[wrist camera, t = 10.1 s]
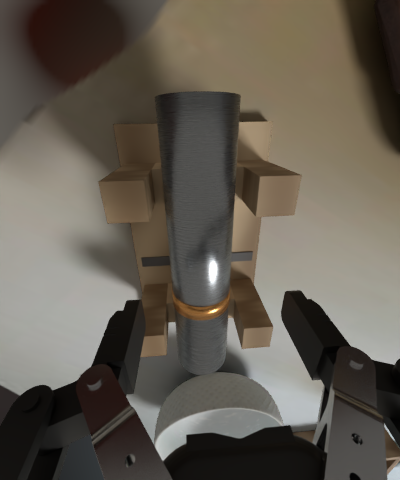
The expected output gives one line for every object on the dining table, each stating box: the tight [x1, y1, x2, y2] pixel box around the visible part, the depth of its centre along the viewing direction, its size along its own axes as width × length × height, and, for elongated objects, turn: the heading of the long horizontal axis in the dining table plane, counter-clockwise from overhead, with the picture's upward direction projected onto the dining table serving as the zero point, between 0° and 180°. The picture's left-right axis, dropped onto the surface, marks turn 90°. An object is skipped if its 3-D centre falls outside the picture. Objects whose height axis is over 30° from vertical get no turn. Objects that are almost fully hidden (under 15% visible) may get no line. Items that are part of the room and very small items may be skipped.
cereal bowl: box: [154, 372, 284, 461], centre depth 31 cm, size 17×17×7 cm
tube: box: [155, 92, 241, 375], centre depth 16 cm, size 20×4×4 cm, turn 1°
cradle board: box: [98, 121, 302, 357], centre depth 19 cm, size 12×20×8 cm, turn 1°
